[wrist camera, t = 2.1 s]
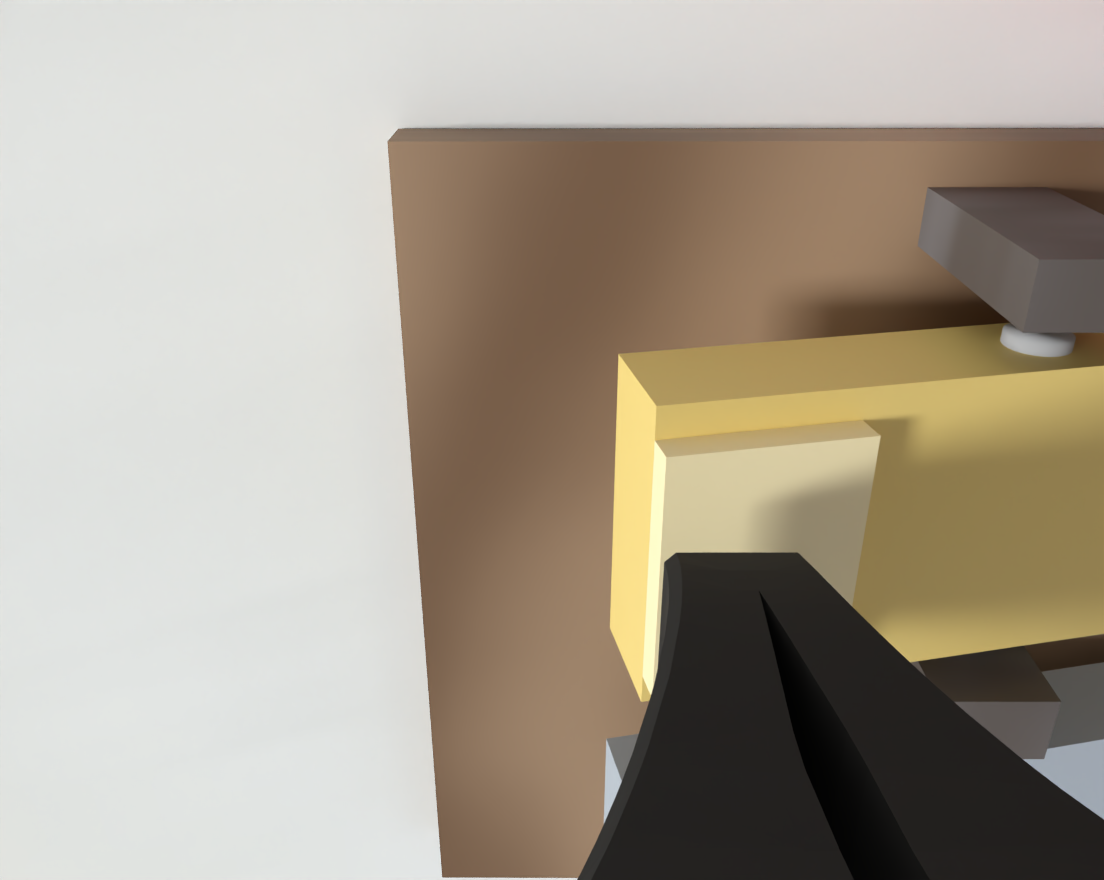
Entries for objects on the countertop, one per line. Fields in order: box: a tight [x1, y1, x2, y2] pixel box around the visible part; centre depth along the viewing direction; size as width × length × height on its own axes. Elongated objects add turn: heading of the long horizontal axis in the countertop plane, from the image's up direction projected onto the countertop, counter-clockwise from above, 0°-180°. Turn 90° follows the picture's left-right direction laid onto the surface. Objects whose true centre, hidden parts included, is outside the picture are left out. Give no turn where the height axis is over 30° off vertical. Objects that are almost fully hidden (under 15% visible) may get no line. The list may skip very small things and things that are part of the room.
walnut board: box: [388, 128, 1104, 878], centre depth 15 cm, size 16×14×4 cm
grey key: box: [604, 662, 1104, 823], centre depth 15 cm, size 10×4×2 cm, turn 90°
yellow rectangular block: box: [610, 323, 1104, 702], centre depth 13 cm, size 10×4×2 cm, turn 90°
